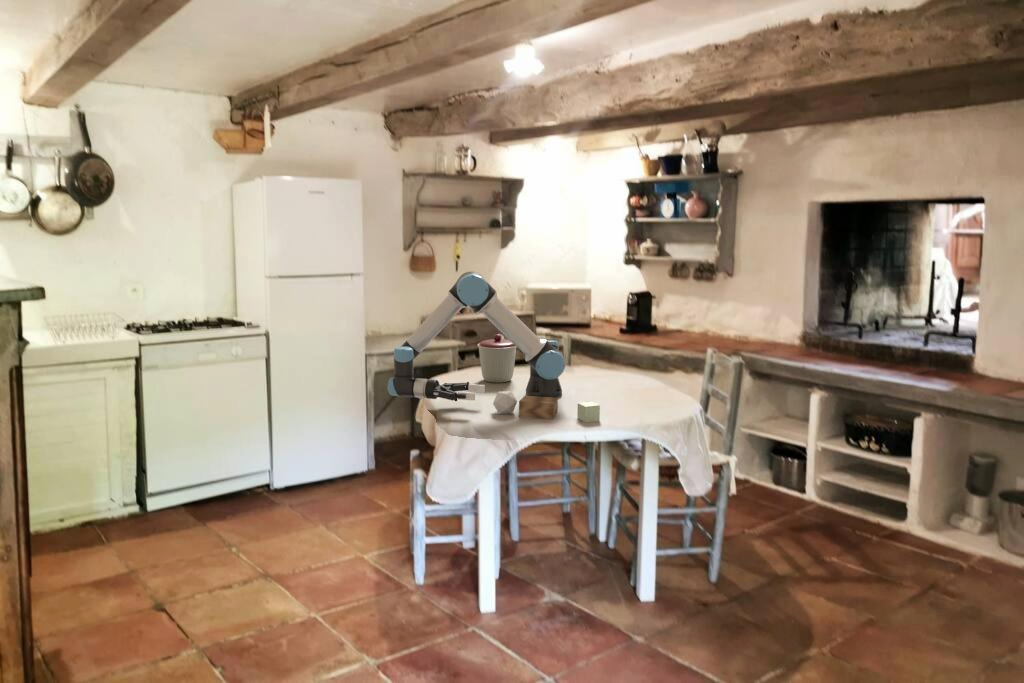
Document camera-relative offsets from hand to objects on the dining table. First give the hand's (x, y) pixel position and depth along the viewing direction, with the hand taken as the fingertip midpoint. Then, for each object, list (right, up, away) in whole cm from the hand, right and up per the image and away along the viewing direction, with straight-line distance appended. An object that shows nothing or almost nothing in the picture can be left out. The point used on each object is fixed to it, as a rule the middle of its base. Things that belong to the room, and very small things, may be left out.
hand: (479, 392), depth 304 cm
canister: (+6, +2, +54) cm, 54 cm away
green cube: (+41, -9, -10) cm, 43 cm away
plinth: (+22, -8, -4) cm, 24 cm away
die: (+10, -8, -1) cm, 12 cm away
